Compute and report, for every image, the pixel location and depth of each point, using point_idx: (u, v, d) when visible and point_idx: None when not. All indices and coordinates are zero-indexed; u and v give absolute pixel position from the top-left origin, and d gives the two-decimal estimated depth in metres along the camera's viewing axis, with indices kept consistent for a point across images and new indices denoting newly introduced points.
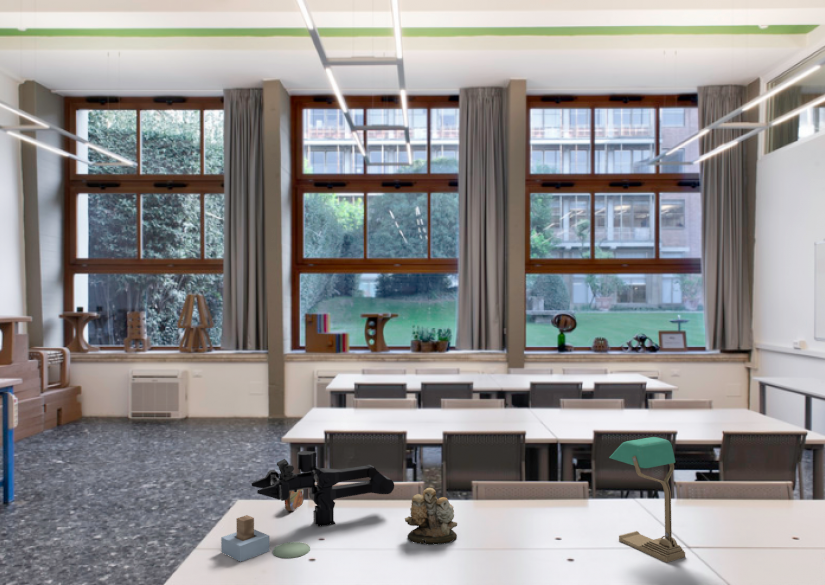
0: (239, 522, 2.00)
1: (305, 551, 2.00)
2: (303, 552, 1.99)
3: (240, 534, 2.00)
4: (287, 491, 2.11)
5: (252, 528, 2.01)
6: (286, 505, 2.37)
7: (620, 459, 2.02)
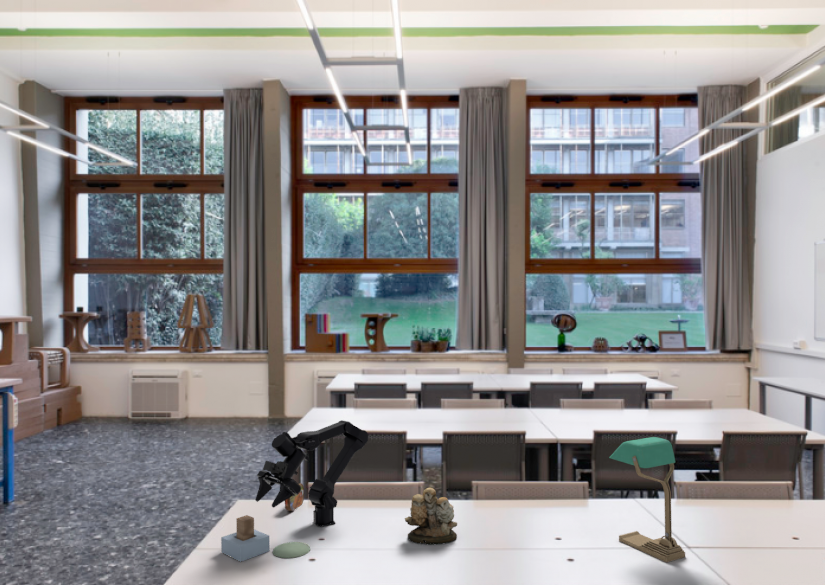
0: (239, 522, 2.00)
1: (305, 551, 2.00)
2: (303, 552, 1.99)
3: (240, 534, 2.00)
4: (296, 485, 2.06)
5: (252, 528, 2.01)
6: (286, 505, 2.37)
7: (620, 459, 2.02)
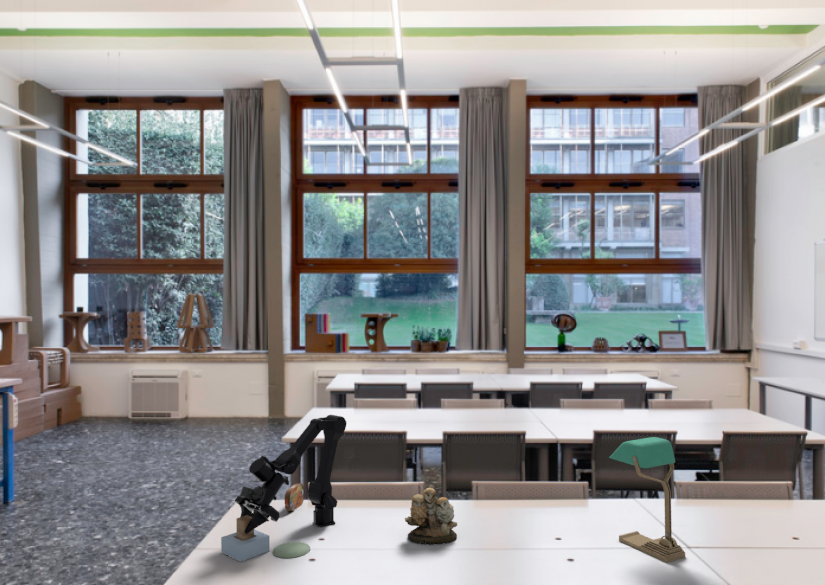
0: (239, 522, 2.00)
1: (305, 551, 2.00)
2: (303, 552, 1.99)
3: (240, 534, 2.00)
4: (275, 512, 1.99)
5: None
6: (286, 505, 2.37)
7: (620, 459, 2.02)
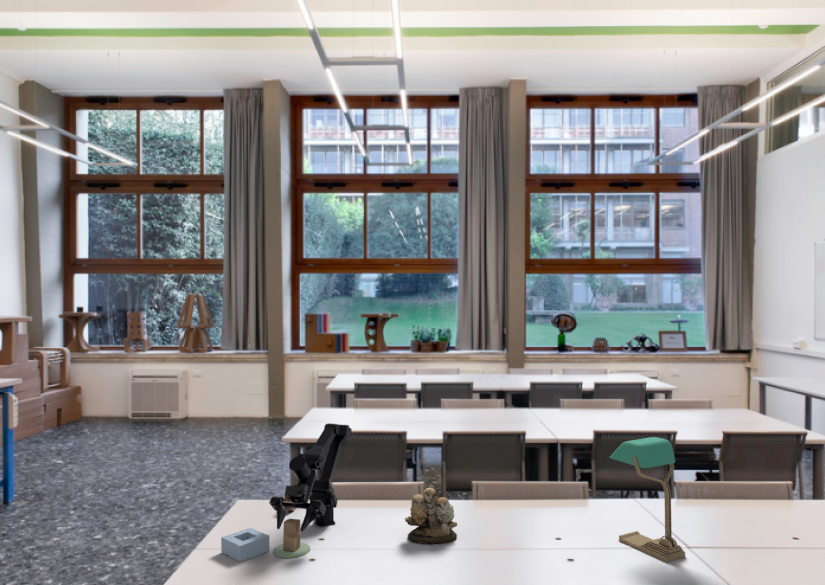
0: (288, 525, 2.01)
1: (305, 551, 2.00)
2: (303, 552, 1.99)
3: (289, 537, 2.00)
4: (323, 505, 2.04)
5: (299, 530, 2.03)
6: None
7: (620, 459, 2.02)
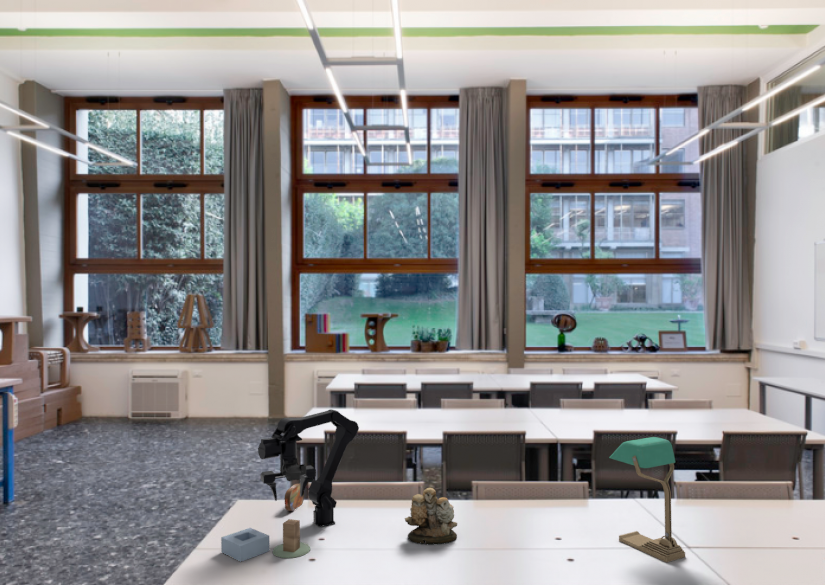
0: (287, 526, 2.00)
1: (305, 551, 2.00)
2: (303, 552, 1.99)
3: (289, 538, 2.00)
4: None
5: (298, 531, 2.03)
6: (286, 505, 2.37)
7: (620, 459, 2.02)
